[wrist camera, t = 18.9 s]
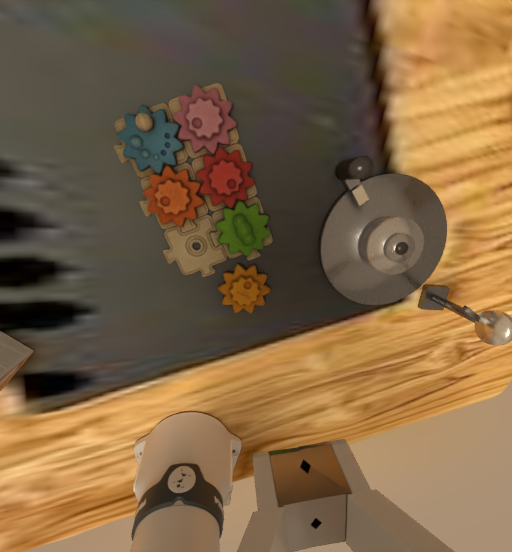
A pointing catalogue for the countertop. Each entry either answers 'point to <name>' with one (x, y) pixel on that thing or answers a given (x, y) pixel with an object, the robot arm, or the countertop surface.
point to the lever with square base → (470, 315)
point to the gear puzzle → (199, 188)
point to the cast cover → (391, 244)
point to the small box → (11, 358)
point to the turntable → (363, 209)
